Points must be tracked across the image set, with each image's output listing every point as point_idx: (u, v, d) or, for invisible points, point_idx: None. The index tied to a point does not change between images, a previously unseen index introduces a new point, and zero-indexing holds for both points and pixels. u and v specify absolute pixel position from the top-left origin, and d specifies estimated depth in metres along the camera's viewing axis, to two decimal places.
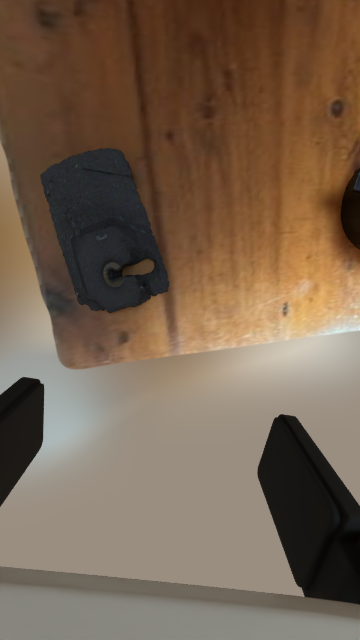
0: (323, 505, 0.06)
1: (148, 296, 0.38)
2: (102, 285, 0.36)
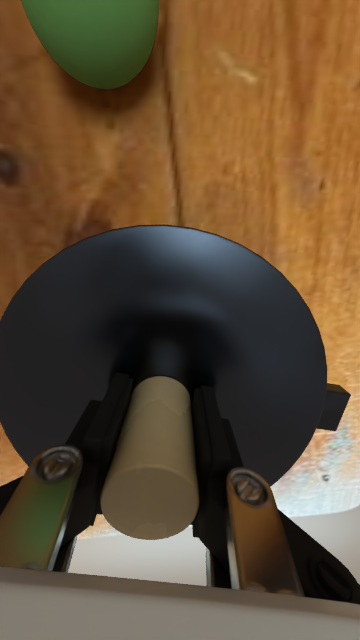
0: (203, 451, 0.07)
1: None
2: None
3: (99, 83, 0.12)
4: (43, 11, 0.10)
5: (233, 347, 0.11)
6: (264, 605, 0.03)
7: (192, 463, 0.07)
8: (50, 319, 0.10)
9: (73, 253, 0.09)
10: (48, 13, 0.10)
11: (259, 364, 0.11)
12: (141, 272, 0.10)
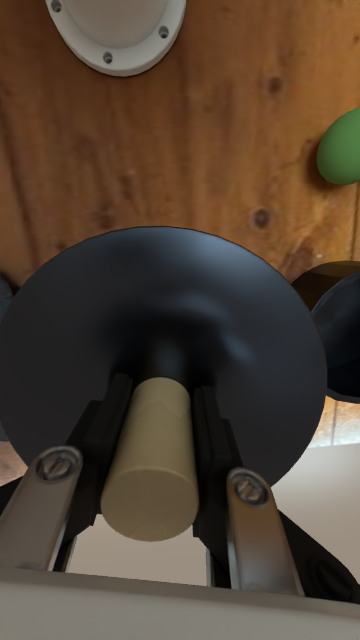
0: (203, 451, 0.07)
1: None
2: None
3: (344, 184, 0.24)
4: (346, 163, 0.22)
5: (233, 348, 0.11)
6: (264, 605, 0.03)
7: (192, 465, 0.07)
8: (50, 320, 0.10)
9: (73, 254, 0.09)
10: (349, 164, 0.22)
11: (259, 366, 0.11)
12: (141, 273, 0.10)
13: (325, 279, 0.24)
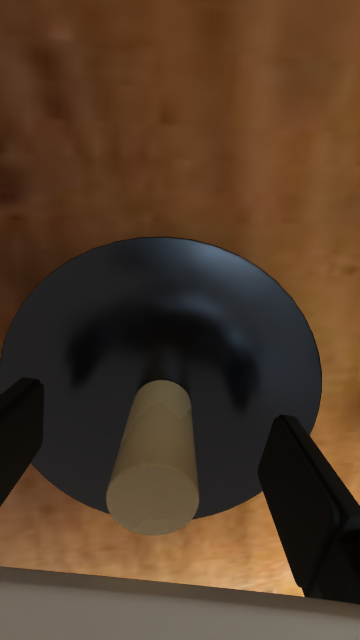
0: (323, 505, 0.06)
1: None
2: None
3: None
4: None
5: (231, 352, 0.11)
6: (264, 605, 0.03)
7: (192, 463, 0.08)
8: (57, 325, 0.11)
9: (79, 263, 0.10)
10: None
11: (256, 369, 0.11)
12: (144, 281, 0.10)
13: None
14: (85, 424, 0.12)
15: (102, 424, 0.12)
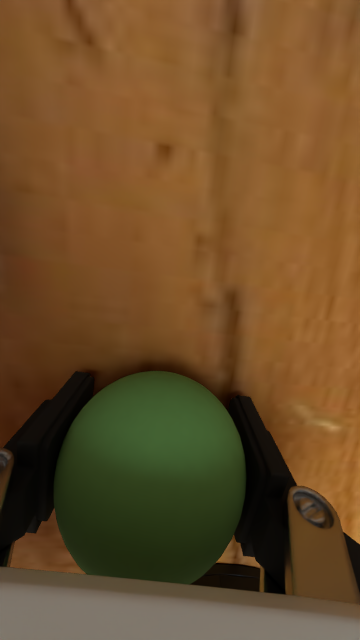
0: (255, 467, 0.07)
1: None
2: None
3: None
4: None
5: None
6: (264, 605, 0.03)
7: None
8: None
9: None
10: None
11: None
12: None
13: None
14: None
15: None
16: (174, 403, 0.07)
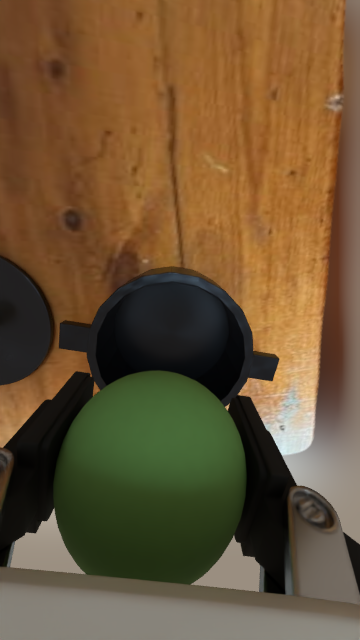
0: (255, 467, 0.07)
1: None
2: None
3: None
4: None
5: (2, 297, 0.25)
6: (264, 605, 0.03)
7: None
8: None
9: None
10: None
11: (15, 305, 0.26)
12: None
13: None
14: None
15: None
16: (174, 403, 0.07)
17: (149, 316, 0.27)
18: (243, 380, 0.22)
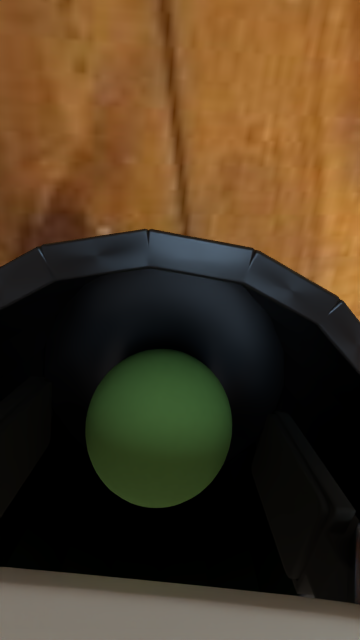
0: (312, 498, 0.06)
1: None
2: None
3: None
4: None
5: None
6: (264, 605, 0.03)
7: None
8: None
9: None
10: None
11: None
12: None
13: None
14: None
15: None
16: (176, 367, 0.09)
17: (116, 351, 0.13)
18: None
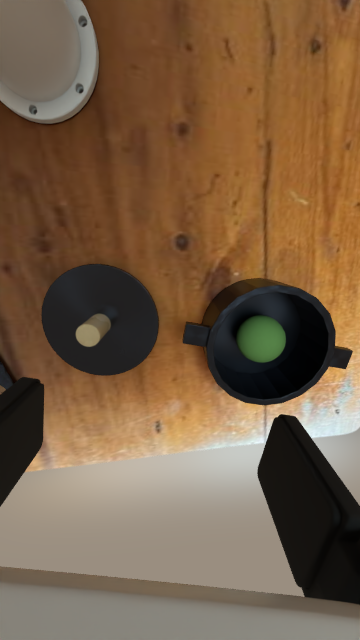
0: (323, 505, 0.06)
1: None
2: None
3: None
4: (251, 358, 0.30)
5: (123, 303, 0.32)
6: (264, 605, 0.03)
7: (99, 328, 0.28)
8: (62, 293, 0.31)
9: (69, 272, 0.31)
10: (253, 359, 0.30)
11: (132, 309, 0.32)
12: (91, 278, 0.31)
13: (229, 297, 0.28)
14: (72, 331, 0.33)
15: None
16: (270, 319, 0.29)
17: (236, 318, 0.33)
18: (325, 368, 0.28)
